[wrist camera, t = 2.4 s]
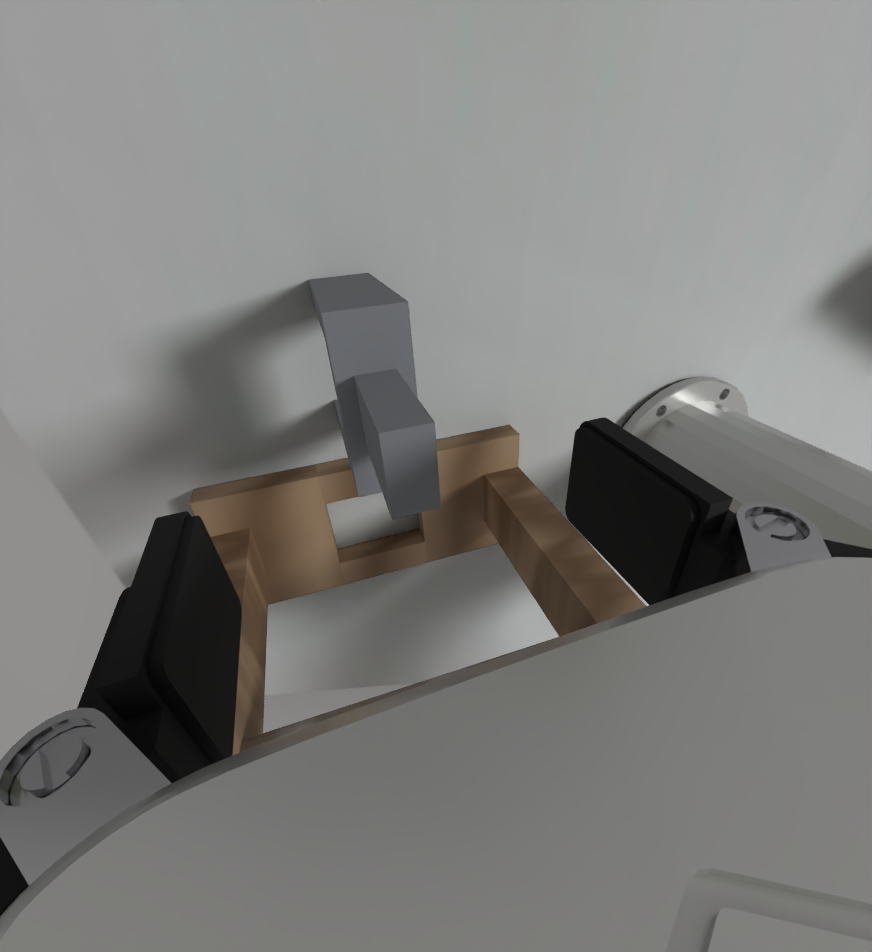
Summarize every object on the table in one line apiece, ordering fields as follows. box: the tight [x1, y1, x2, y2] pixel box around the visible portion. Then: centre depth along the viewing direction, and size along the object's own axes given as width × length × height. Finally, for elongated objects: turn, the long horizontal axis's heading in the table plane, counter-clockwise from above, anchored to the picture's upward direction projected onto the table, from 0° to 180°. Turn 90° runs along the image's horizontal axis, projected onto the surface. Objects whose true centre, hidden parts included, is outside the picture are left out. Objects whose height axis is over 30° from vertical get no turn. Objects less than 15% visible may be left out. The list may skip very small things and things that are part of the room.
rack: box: [189, 425, 647, 756], centre depth 23 cm, size 20×9×16 cm, turn 94°
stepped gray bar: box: [309, 273, 441, 520], centre depth 18 cm, size 8×3×14 cm, turn 5°
